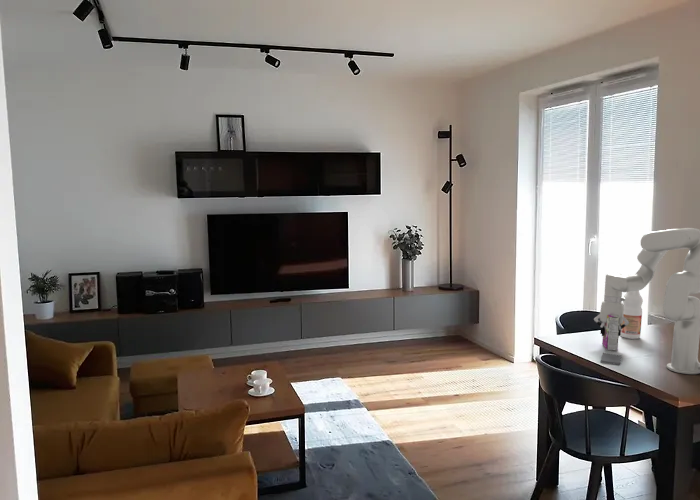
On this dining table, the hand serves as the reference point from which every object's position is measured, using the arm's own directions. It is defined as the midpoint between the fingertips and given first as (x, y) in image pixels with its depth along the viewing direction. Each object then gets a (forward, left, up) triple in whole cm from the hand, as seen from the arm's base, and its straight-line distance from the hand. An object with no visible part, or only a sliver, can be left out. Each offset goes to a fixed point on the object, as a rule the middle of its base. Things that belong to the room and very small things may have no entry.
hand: (610, 336), depth 278 cm
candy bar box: (0, 0, -6) cm, 6 cm away
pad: (-2, +21, -6) cm, 22 cm away
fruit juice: (-8, -27, -6) cm, 29 cm away
